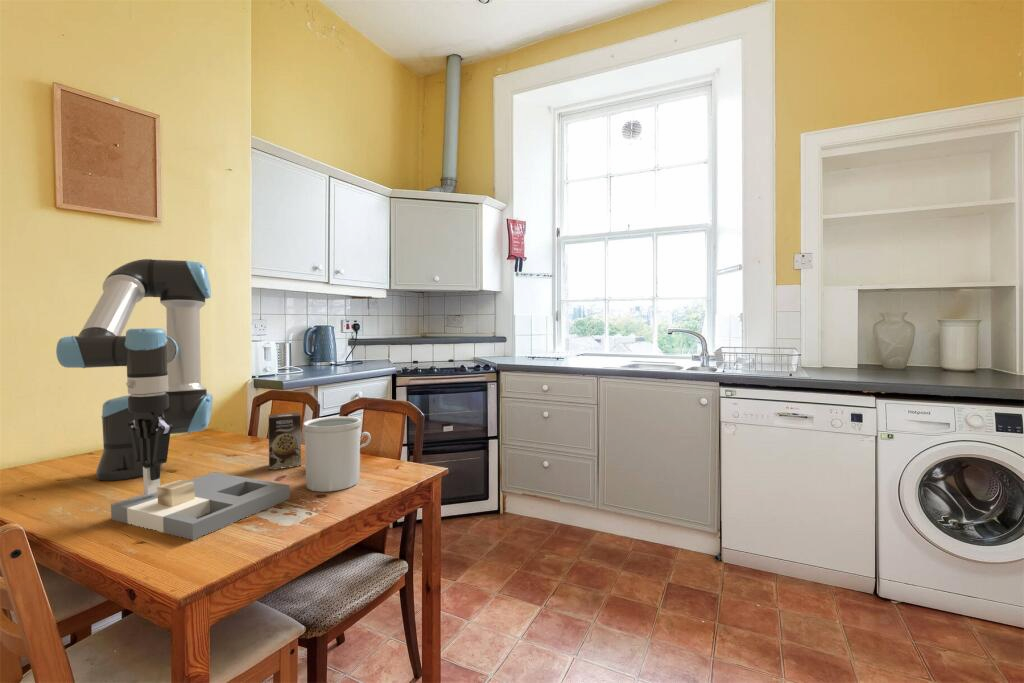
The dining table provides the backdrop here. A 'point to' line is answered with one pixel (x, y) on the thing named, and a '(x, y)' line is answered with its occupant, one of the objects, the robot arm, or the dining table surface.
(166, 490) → the birch block
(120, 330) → the robot arm
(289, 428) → the coffee box
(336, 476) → the utensil holder
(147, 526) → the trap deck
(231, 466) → the dining table surface
